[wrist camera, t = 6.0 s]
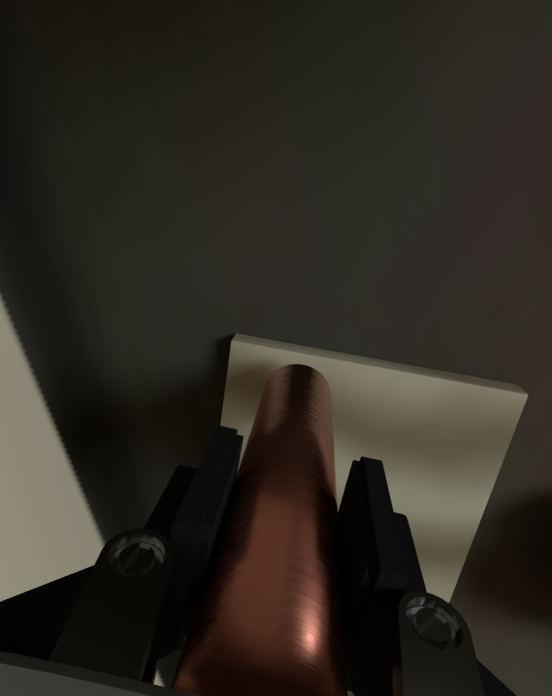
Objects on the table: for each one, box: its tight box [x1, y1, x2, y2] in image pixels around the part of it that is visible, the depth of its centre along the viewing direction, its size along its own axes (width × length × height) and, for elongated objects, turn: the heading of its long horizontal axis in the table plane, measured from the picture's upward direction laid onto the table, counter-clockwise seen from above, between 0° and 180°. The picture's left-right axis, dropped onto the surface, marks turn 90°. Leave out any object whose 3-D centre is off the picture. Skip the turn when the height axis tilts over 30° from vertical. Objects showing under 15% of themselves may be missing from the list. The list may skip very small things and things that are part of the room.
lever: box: [171, 364, 354, 696], centre depth 16 cm, size 19×4×14 cm, turn 5°
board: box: [220, 334, 528, 603], centre depth 22 cm, size 18×14×5 cm
